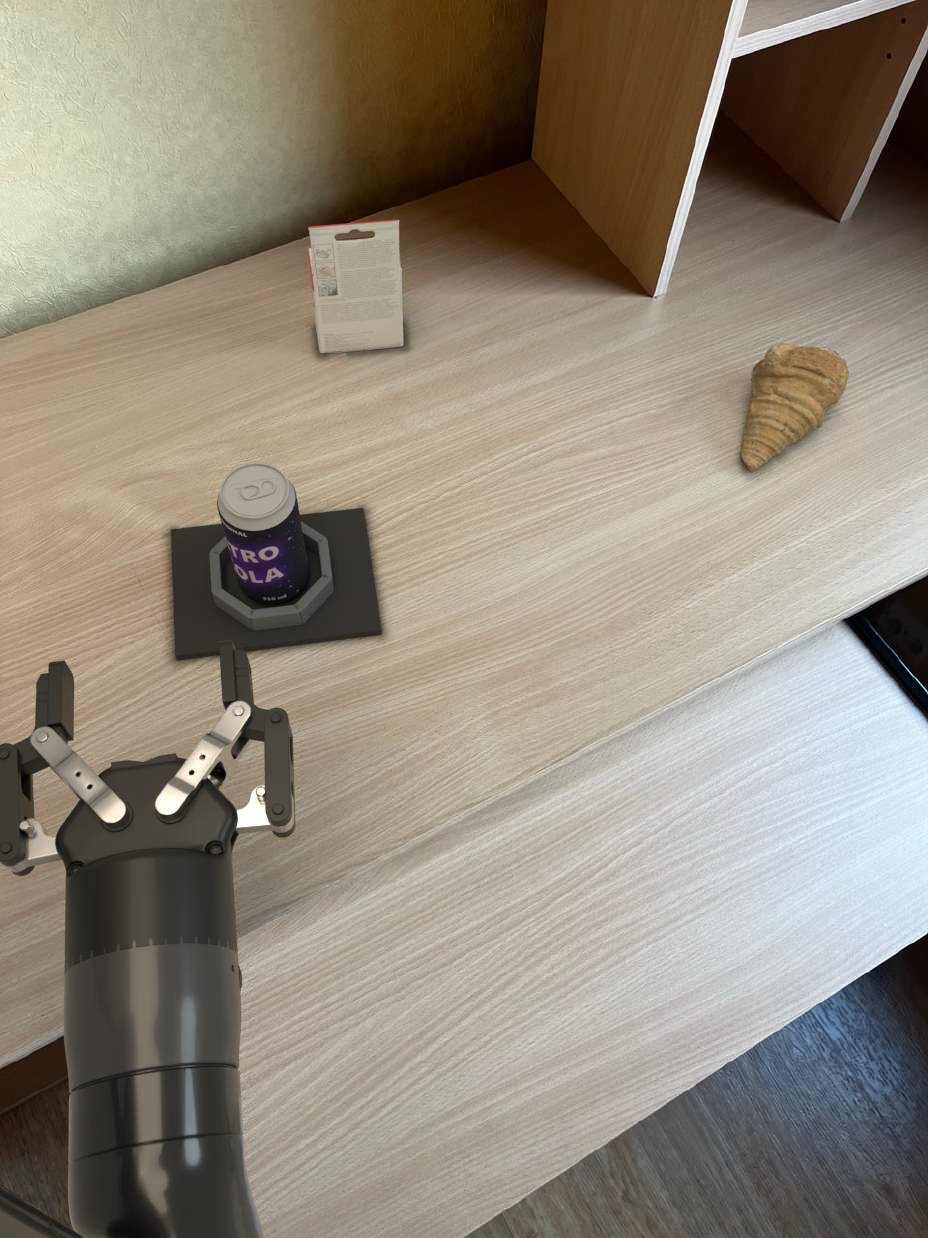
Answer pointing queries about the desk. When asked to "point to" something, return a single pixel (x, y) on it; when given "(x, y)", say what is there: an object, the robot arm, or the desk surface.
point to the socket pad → (316, 614)
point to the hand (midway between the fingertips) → (145, 657)
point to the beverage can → (263, 532)
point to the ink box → (357, 287)
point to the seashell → (789, 398)
